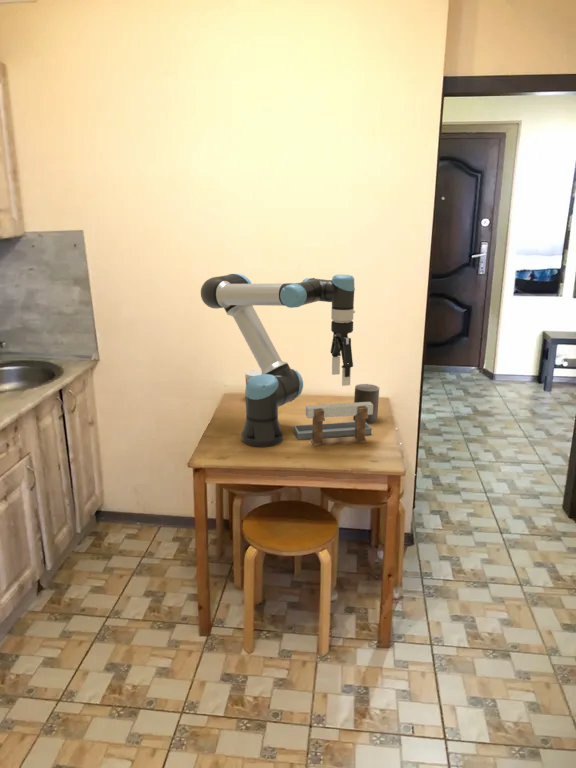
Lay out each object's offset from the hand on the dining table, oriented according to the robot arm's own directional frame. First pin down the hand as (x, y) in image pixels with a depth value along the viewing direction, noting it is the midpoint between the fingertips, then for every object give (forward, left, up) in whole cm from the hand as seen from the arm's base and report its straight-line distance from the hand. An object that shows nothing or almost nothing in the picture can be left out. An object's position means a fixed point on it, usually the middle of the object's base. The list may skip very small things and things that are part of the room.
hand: (340, 379), depth 217 cm
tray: (0, +9, -24) cm, 26 cm away
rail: (0, 0, -13) cm, 13 cm away
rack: (0, 0, -24) cm, 24 cm away
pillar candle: (+17, +21, -24) cm, 36 cm away
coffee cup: (-23, +54, -24) cm, 64 cm away
